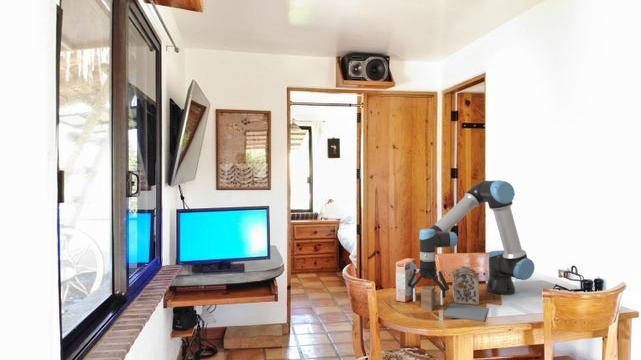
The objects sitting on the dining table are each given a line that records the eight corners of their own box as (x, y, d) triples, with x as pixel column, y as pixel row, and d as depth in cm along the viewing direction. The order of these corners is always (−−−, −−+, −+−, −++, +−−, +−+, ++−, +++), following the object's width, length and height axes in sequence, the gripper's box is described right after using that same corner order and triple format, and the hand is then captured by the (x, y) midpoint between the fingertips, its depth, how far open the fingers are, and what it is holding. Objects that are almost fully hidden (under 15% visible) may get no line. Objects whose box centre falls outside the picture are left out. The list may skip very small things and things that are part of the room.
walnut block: (425, 304, 207) (425, 285, 207) (435, 305, 205) (435, 286, 205) (421, 309, 199) (420, 289, 199) (431, 311, 197) (431, 290, 197)
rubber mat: (450, 304, 206) (450, 303, 206) (488, 309, 198) (488, 307, 198) (442, 316, 189) (442, 315, 189) (484, 321, 180) (483, 320, 180)
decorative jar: (479, 305, 205) (478, 269, 205) (455, 304, 207) (454, 269, 207) (475, 298, 216) (474, 264, 216) (452, 297, 219) (452, 264, 219)
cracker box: (406, 303, 210) (405, 263, 210) (395, 301, 213) (394, 261, 213) (417, 296, 221) (416, 258, 221) (407, 295, 225) (406, 257, 225)
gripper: (401, 259, 204) (401, 301, 204) (451, 263, 193) (452, 307, 193) (405, 256, 211) (405, 297, 211) (454, 260, 199) (455, 303, 199)
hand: (428, 302), depth 202 cm, fingers open, 13 cm apart
